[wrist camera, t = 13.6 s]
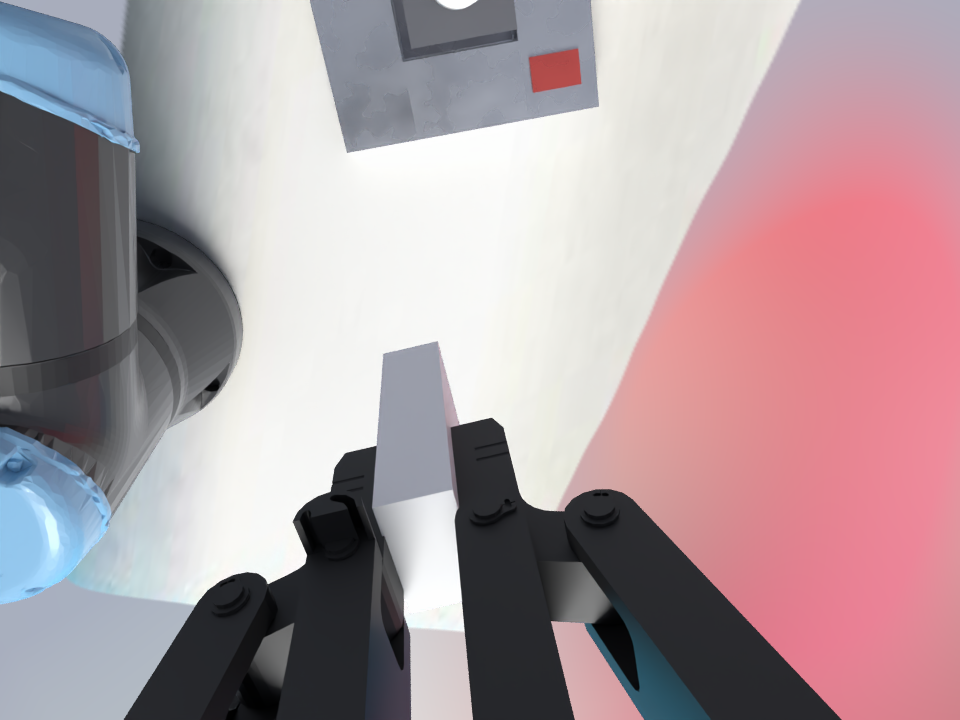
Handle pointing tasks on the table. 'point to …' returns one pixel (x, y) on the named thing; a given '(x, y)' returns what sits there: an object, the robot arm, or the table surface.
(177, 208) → the table surface
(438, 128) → the socket plate
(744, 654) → the robot arm
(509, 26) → the plug
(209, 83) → the table surface
